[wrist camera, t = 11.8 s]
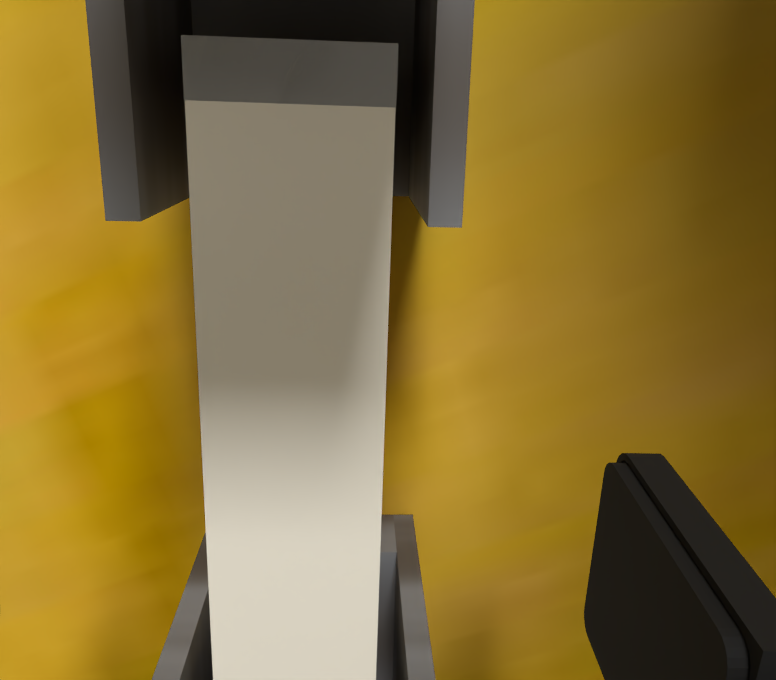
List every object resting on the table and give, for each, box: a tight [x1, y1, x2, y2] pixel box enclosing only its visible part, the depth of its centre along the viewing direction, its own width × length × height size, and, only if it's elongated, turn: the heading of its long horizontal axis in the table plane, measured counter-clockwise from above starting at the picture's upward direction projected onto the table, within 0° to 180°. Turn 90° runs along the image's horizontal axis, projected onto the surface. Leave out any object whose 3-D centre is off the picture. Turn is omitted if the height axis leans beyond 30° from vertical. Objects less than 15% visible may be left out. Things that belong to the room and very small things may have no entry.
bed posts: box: [85, 0, 474, 680], centre depth 13 cm, size 25×6×16 cm, turn 179°
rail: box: [181, 35, 398, 680], centre depth 16 cm, size 16×4×5 cm, turn 178°
